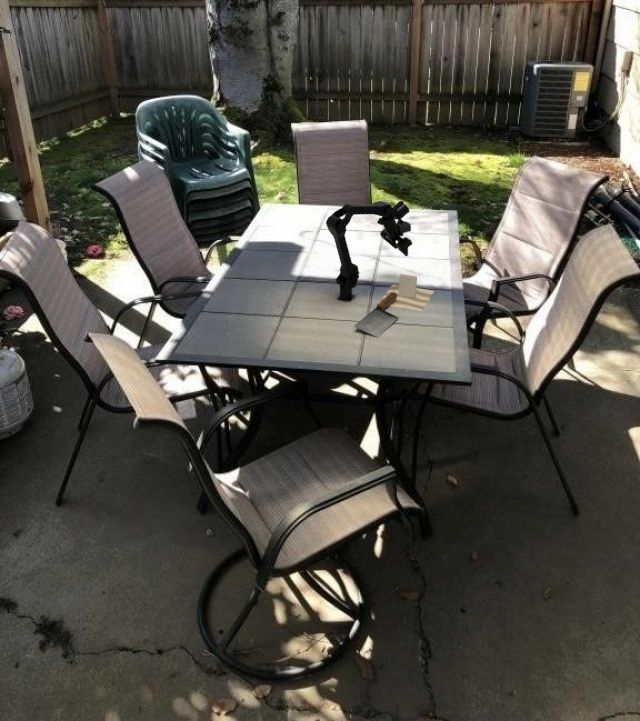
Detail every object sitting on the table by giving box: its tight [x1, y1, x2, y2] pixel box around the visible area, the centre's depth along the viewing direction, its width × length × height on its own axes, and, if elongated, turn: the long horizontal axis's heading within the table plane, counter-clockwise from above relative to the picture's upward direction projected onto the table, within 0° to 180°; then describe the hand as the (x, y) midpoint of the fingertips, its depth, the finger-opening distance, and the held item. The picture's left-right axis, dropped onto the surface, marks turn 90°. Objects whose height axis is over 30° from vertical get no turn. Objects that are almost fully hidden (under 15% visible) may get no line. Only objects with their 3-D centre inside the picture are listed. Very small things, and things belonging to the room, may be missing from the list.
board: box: [378, 284, 435, 312], centre depth 294 cm, size 22×20×1 cm
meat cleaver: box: [354, 292, 399, 338], centre depth 278 cm, size 34×11×4 cm, turn 148°
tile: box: [398, 273, 418, 298], centre depth 292 cm, size 2×8×10 cm, turn 67°
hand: (401, 252), depth 304 cm, fingers open, 9 cm apart
